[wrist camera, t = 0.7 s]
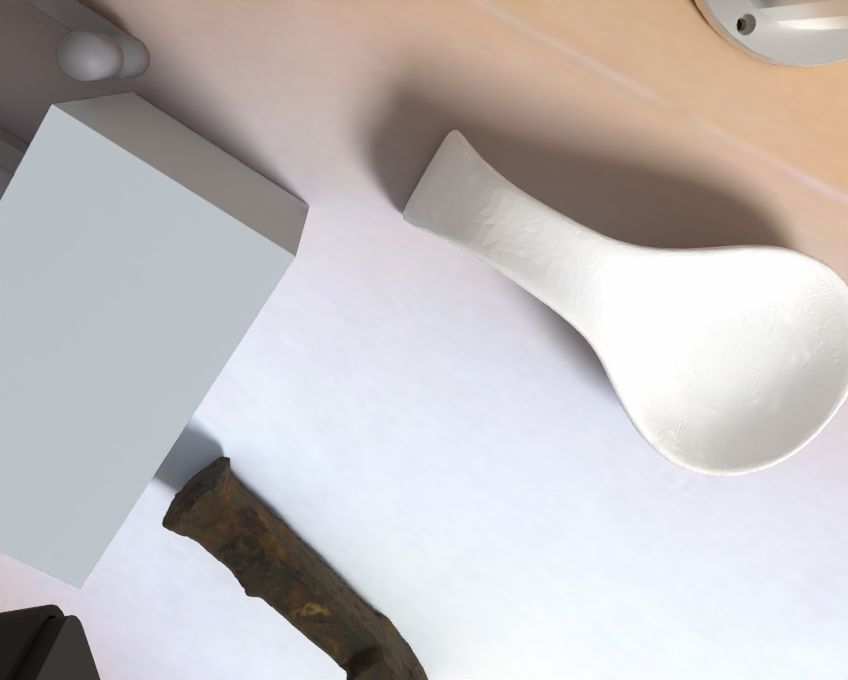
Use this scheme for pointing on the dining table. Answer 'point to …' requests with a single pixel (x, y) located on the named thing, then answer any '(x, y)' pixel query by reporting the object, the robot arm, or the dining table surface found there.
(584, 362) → the dining table surface
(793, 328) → the spoon rest
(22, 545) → the cabinet
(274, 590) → the hand tool
